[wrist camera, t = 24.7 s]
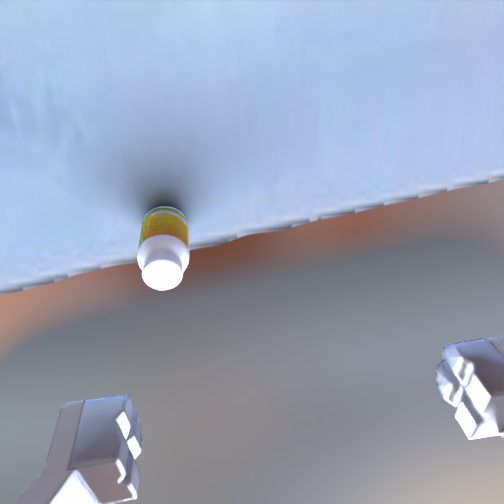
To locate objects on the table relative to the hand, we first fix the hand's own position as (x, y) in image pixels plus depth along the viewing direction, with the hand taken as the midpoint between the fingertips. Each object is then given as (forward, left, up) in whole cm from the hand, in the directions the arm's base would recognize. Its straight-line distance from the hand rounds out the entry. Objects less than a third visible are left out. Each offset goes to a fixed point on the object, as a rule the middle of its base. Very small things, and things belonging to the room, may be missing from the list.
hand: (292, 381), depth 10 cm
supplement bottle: (+10, -14, -35) cm, 39 cm away
